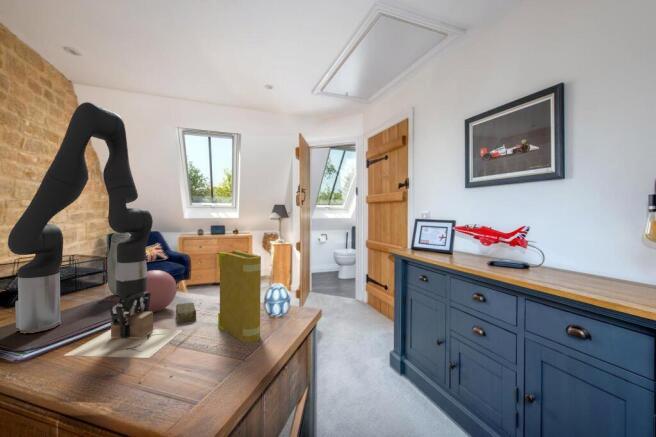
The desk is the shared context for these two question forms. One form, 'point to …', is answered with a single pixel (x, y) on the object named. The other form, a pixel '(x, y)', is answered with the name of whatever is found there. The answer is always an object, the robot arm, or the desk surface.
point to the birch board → (125, 345)
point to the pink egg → (160, 289)
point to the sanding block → (136, 325)
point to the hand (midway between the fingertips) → (132, 332)
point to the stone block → (185, 312)
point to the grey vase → (114, 259)
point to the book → (240, 294)
